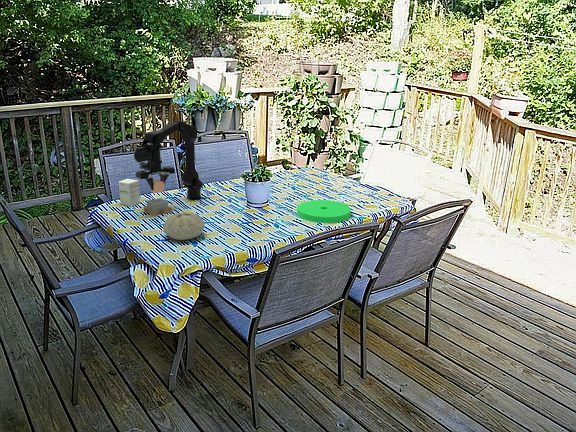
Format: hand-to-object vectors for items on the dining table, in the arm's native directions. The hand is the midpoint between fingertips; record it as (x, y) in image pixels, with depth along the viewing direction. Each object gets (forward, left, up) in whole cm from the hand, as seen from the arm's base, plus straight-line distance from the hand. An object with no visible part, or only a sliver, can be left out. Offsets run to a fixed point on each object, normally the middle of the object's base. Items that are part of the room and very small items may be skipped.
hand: (157, 189), depth 250 cm
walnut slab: (0, 0, -12) cm, 12 cm away
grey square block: (0, 0, -9) cm, 9 cm away
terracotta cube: (0, 0, -1) cm, 1 cm away
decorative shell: (+8, +37, -12) cm, 40 cm away
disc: (-61, +57, -12) cm, 84 cm away
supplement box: (+5, -20, -12) cm, 24 cm away
